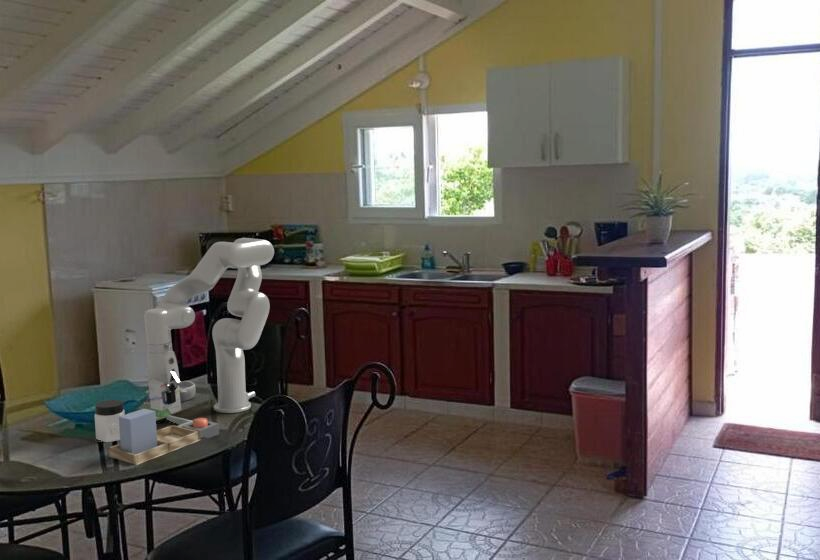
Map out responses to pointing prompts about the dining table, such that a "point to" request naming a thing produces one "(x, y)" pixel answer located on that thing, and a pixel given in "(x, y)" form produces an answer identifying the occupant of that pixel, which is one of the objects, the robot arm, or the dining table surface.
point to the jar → (108, 420)
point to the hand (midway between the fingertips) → (165, 401)
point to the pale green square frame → (177, 420)
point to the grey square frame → (205, 429)
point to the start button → (200, 423)
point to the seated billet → (138, 431)
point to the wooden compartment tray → (158, 444)
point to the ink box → (162, 399)
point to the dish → (186, 390)
